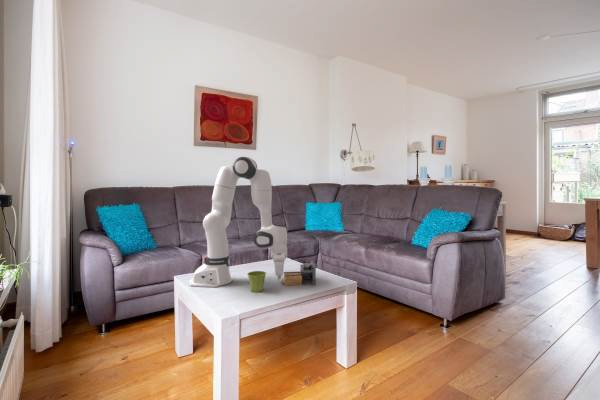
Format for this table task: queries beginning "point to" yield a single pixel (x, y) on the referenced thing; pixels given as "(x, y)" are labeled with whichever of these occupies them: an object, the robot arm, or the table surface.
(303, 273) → the bracket
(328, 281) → the table surface
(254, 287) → the plant pot
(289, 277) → the block
